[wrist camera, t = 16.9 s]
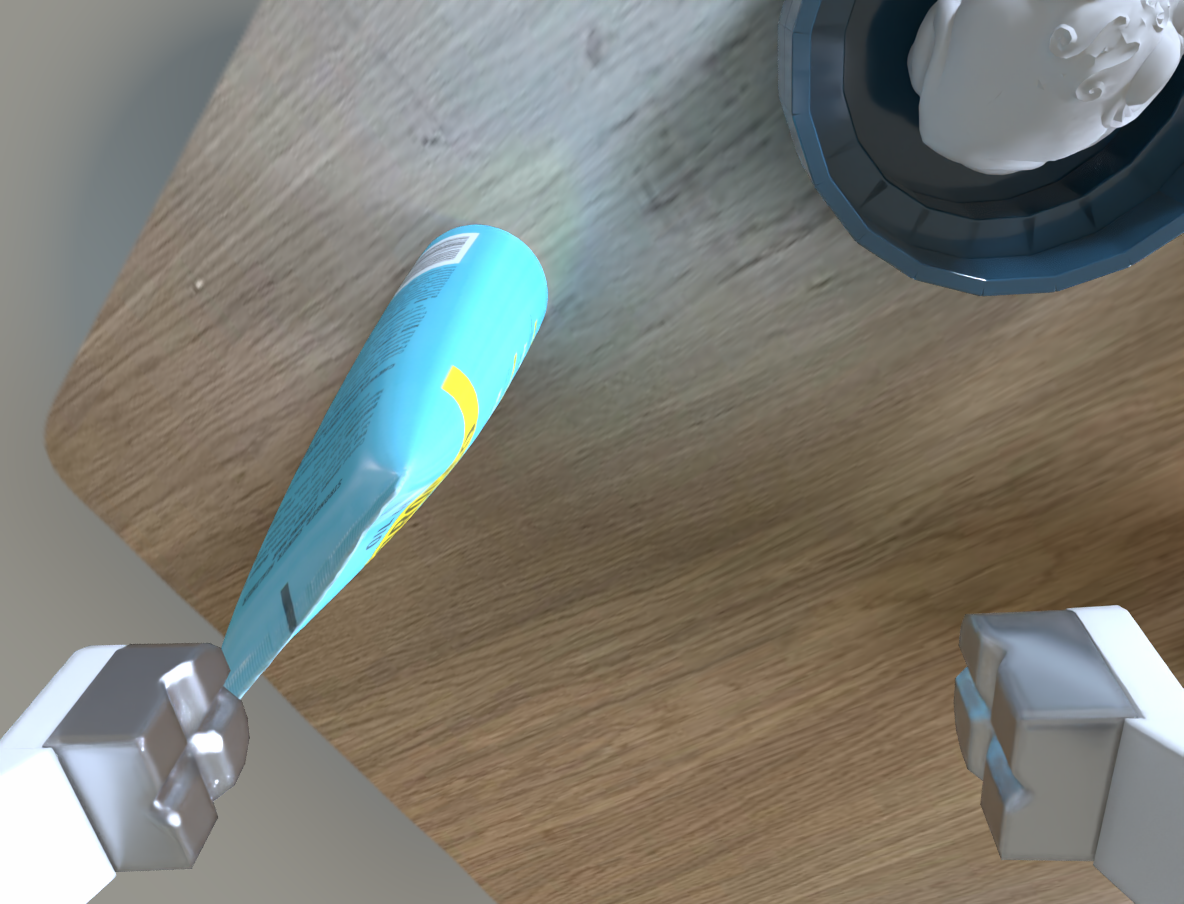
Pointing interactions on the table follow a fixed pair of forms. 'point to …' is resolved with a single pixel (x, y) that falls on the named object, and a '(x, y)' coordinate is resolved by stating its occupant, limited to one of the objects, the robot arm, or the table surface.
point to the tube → (391, 431)
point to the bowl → (949, 189)
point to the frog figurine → (1038, 75)
